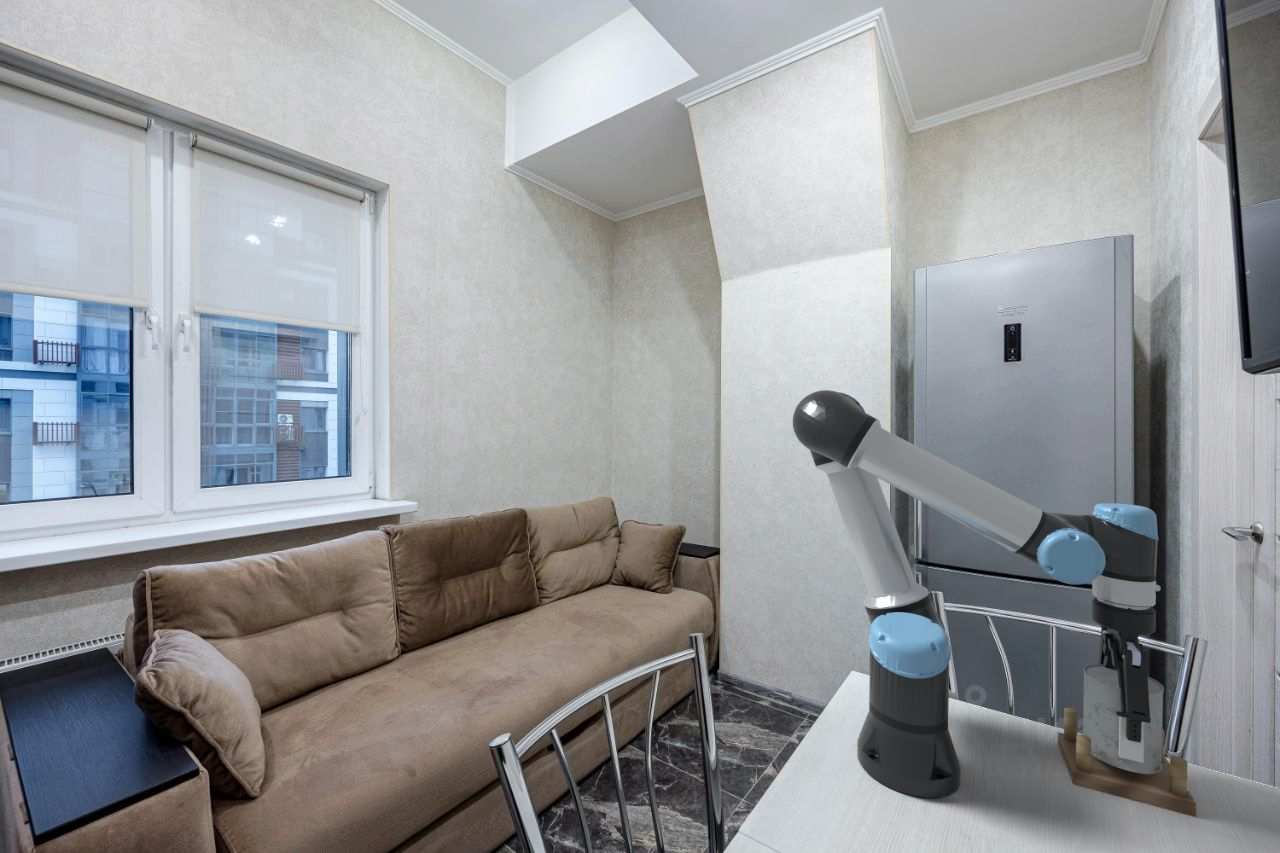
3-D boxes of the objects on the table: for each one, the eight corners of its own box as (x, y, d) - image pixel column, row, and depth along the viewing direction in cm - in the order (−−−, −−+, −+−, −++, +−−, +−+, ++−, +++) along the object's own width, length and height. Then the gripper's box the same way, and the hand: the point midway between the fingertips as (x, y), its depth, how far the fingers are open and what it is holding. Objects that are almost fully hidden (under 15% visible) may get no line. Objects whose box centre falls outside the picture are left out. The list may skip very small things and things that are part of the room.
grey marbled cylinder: (1179, 778, 80) (1181, 696, 80) (1105, 769, 82) (1107, 689, 82) (1134, 740, 89) (1135, 667, 89) (1069, 733, 91) (1070, 661, 91)
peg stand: (1073, 784, 84) (1073, 740, 84) (1057, 743, 94) (1058, 704, 94) (1196, 816, 77) (1197, 768, 77) (1164, 769, 87) (1165, 726, 87)
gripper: (1183, 630, 74) (1180, 791, 74) (1131, 586, 93) (1129, 713, 93) (1112, 620, 77) (1109, 773, 78) (1077, 580, 97) (1075, 702, 97)
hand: (1120, 741), depth 85 cm, fingers closed on grey marbled cylinder, 9 cm apart
